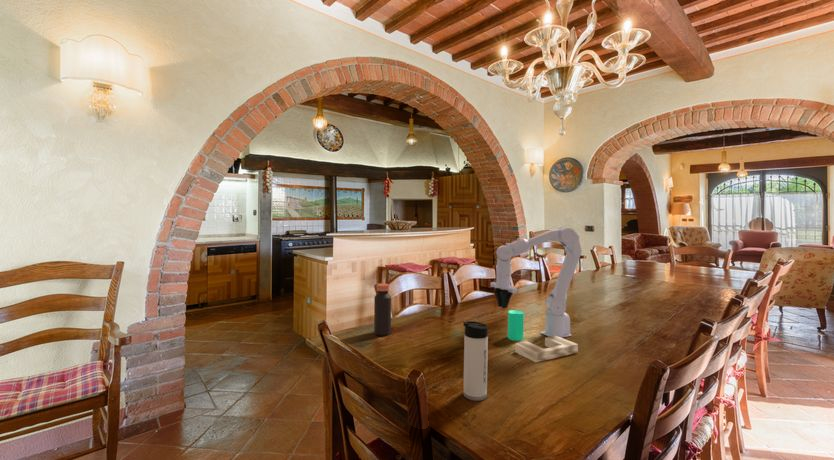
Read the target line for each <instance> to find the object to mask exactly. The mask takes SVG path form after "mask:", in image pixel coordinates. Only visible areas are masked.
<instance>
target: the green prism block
mask: <svg viewBox="0 0 834 460" xmlns="http://www.w3.org/2000/svg"><path fill="white" fill-rule="evenodd" d="M507 314H508V315H507V338H508V339H509V340H511V341H515V342H516V341H523V340H524V329H525V328H524V324H525V321H524V320H525V313H524V312H523V311H521V310H513V309H511V310H508V312H507Z"/></svg>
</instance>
